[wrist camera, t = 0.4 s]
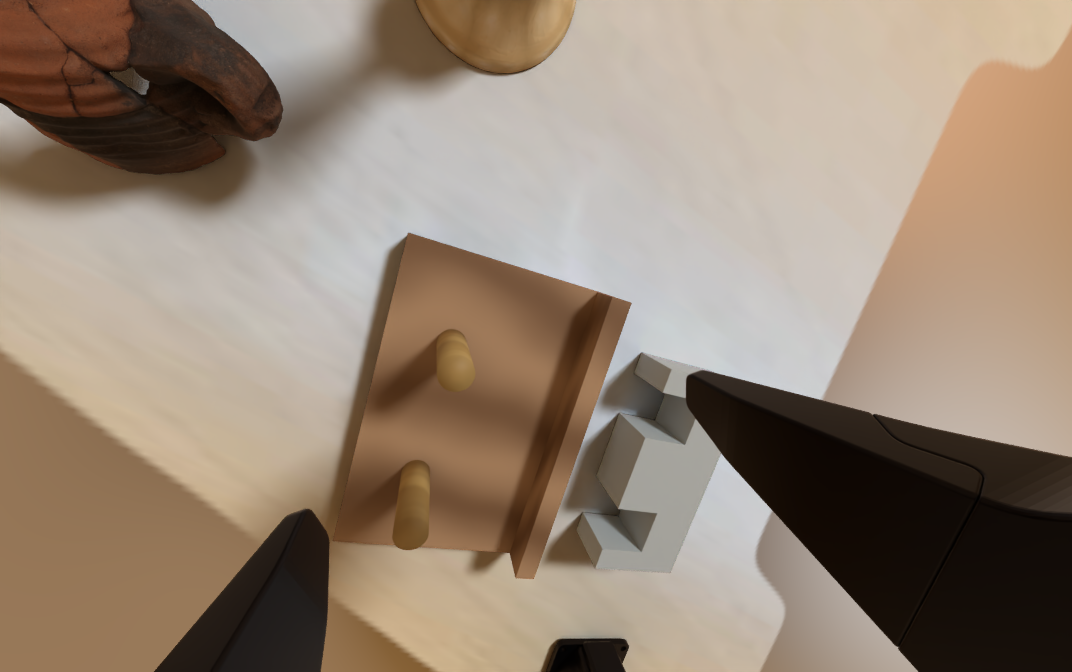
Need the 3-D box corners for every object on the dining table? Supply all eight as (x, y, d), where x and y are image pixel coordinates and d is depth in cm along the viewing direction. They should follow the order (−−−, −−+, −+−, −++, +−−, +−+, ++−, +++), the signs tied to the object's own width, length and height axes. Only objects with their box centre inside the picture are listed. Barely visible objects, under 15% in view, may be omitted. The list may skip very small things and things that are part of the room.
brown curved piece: (-3, 142, 16) (-442, -146, 8) (143, 4, 19) (-78, -300, 11) (275, 248, 17) (112, 75, 9) (373, 100, 20) (314, -124, 12)
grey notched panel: (644, 536, 30) (670, 572, 27) (576, 529, 28) (595, 568, 25) (711, 370, 28) (748, 389, 24) (641, 352, 26) (671, 369, 23)
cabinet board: (521, 537, 27) (547, 625, 21) (338, 522, 23) (305, 623, 17) (604, 293, 24) (662, 313, 18) (409, 233, 20) (399, 231, 14)
